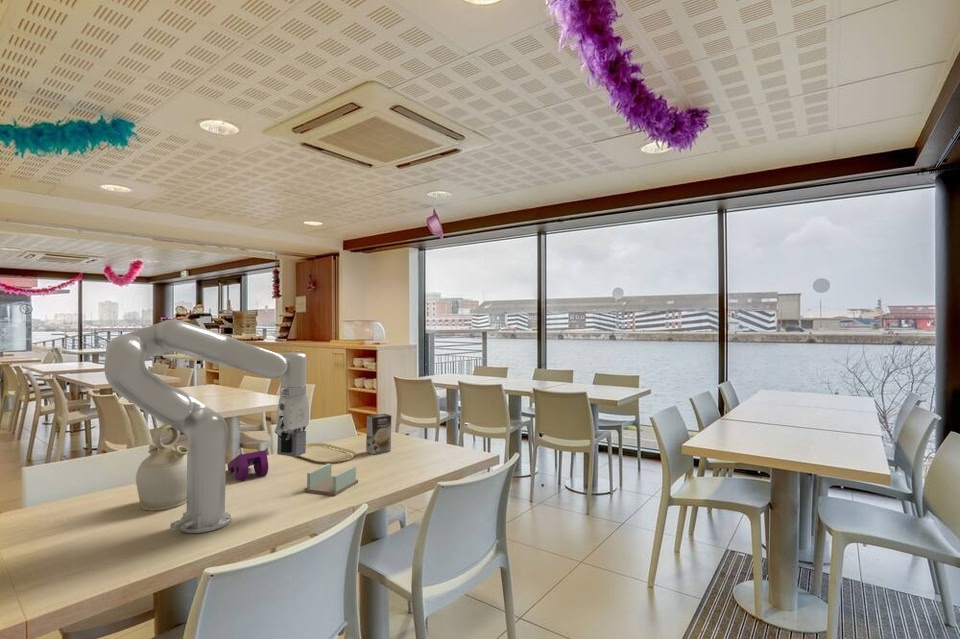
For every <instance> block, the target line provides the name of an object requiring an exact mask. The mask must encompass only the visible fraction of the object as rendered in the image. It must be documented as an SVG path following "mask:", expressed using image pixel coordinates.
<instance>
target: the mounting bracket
mask: <svg viewBox="0 0 960 639" xmlns="http://www.w3.org/2000/svg"><path fill="white" fill-rule="evenodd" d="M226 466H227V470H228V471H233V473H234V477H235V479H236V480H237V481H244V480H247V479H248V477H249V467H251V466H253V470H254V474H255V475H256V476H258V477H263V476H267V475H268V472H269V460H268V454H267V449H264V450H263V449H262V450H258V451H253V452H247V453H241V454H238V455H237V456H236V457H234V458H233V459H232V460H230V461H229V462H228V463H227V464H226Z"/></svg>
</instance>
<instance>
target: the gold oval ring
mask: <svg viewBox="0 0 960 639" xmlns="http://www.w3.org/2000/svg"><path fill="white" fill-rule="evenodd" d="M312 446H326V447H331V448H335V449H339V450H343V451H346V452H349V453H352V454H353V457H352V456H351V457H348V458H344V459H339V460H323V461H322V460H316V459H312V458H309V457H306V456H303V455H299V456H298V458H300V457H301V459H303V458H304V460H306V459H307V461H309V462H310V461H311V462H313V461H314V462H313V463H316V462H318V463H317V464H323V463H331V464H338V463H337V462H340V463H345V462H348V461H351V460H352V459H354V458H355V457H356V455H357V454H356V451H354V450H350V449H347V448H344V447H339V446H336V445H332V444H328V443H319V442H315V443H306V448H313V447H312ZM350 459H351V460H350ZM347 460H348V461H347ZM344 461H345V462H344Z"/></svg>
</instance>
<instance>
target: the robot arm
mask: <svg viewBox="0 0 960 639" xmlns="http://www.w3.org/2000/svg"><path fill="white" fill-rule="evenodd" d="M170 351H173V352H176V353H178V354H182V355H185V356H189V357H192V358H194V359H198V360H202V361H204V362H205V361H206V362H209V363H212V364H216V365H219V366H222V367H227V368H233V369H238V370H241V371H244V372H247V373H250V374H255V375H257V376H261V377H264V378H267V379H272V380H275V379H279V378H280V391H279V400H278V404H277V409H276V410H277V411H276V427H275V429H274V431H273V432H274V433H275V434H276V435H277V437H278V436H279V437H280V439H281V452H284V453H290V452H291V440H289V439H290V434H291V430H301V431H306V428H307V426H308V425H309V423H310V407H309V400H308V395H307V368H308V367H307V364H308V362H307V361H308V359H307V354H305V353H303V352H285V353H284V352H283V353H282V352H281V353H280V352H274V351H270V350H267V349H265V348H261V347H259V346H257V345H253V344H250V343H248V342H247V343H246V342H244V341H242V340H240V339H236V338H234V337H232V336H230V335H226V334H223V333H220V332H217V331H214V330H211V329H208V328H206V327H203V326H202V327H201V326H199V325H196V324H193V323H190V322H188V321H187V322H186V321H184V320H180V319H167V320H164V321H161V322H158V323H155V324H153V325H149V326H146V327H143V328H140V329H137V330H134V331H131V332H127V333H125V334H121V335H119V336H115V337H114V338H113V339H111V340H110V341H109V342H108V344H107V346H106V350H105V359H104V367H103V370H104V375H105V379H106V381H107V383H108V384H109V386H110V387H111V389H112V390H113V391H114V392H116V393H117V394H118V395H119V396H121V397H122V398H124V399H125V400H127V401H128V402H130V403H132V404H133V405H135V406H136V407H138V408H139V409H141V410H142V411H144V412H145V413H147V414H149V415H150V416H152V417H153V418H154V419H155V420H157V421H158V422H160V423H161V424H163V425H165V424H168V425H170V426H172V427H173V428H175V429H177V430H178V431H179V433H182V434H183V435H185V436H187V438H188V439H187V440H188V441H187V444H188V445H187V448H188V453H187V502H186V511H185V512H183V513H182V517H181V518H180V519H179V520H178V519H177V520H176V521H173V522H171V523H170V525H169V526H170V529H171V530H172V531H174V530H177V529H179V530H180V531H181V532H183V533H187V534H201V533H202V534H203V533H207V532H212V531H215V530H218V529H221V528H223V527H225V526H227V525H228V524H230V523H231V520H232V515H231V514H230V513H229V512H226V473H227V472H226V466H227V464H226V460H227V459H226V458H227V445H228V436H229V433H228V432H229V431H228V429H229V428H228V424H227V422H226V420H225V418H224V417H223V416H222V415H221V414H219V413H218V412H217V411H215V410H213V409H212V408H210V406H209V407H208V406H207V405H206V404H204V403H203V402H201V401H199V400H198V399H196V398H194V397H193V396H192V395H190V394H188V393H187V392H185V391H184V390H183V389H181V388H179V387H176V386H173V385H170V384H169V383H168V382H166V381H164V380H162V378H160V377H159V376H157V375H156V374H154V373H153V372H151V371H150V370H149V369H148V368H147V366H146V363H145V361H146V360H148V359H152V358H154V357H157V356H159V355H162V354H165V353H167V352H170ZM285 431H287V434H285Z"/></svg>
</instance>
